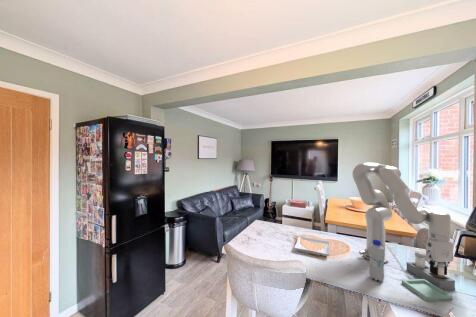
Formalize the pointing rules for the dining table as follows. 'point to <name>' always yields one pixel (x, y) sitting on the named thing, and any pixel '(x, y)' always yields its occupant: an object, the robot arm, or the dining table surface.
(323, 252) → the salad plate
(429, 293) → the tray
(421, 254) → the cylinder
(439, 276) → the fuse
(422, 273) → the block
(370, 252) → the bottle
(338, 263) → the dining table surface
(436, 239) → the robot arm
